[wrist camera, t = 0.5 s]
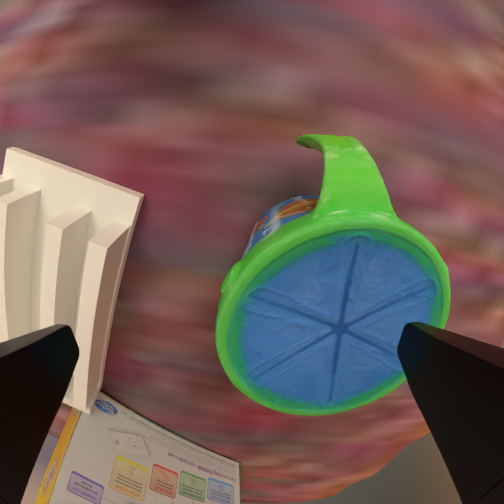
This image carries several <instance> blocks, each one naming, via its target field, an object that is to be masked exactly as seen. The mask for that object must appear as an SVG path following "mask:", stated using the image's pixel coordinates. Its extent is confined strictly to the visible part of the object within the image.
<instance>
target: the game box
mask: <svg viewBox="0 0 504 504" xmlns="http://www.w3.org/2000/svg"><path fill="white" fill-rule="evenodd" d="M35 504H241V464H240V463H239V462H237V461H234V460H231V459H228V458H226V457H223V456H221V455H219V454H216V453H214V452H212V451H210V450H207V449H205V448H203V447H201V446H199V445H197V444H194V443H192V442H190V441H188V440H186V439H184V438H182V437H180V436H178V435H176V434H174V433H172V432H170V431H168V430H166V429H165V428H162V427H161V426H159V425H157V424H155V423H153V422H151V421H149V420H148V419H146V418H144V417H142V416H140V415H139V414H137V413H135V412H134V411H132V410H130V409H128V408H127V407H125V406H123V405H122V404H120V403H118V402H117V401H115V400H113V399H112V398H110V397H109V396H107V395H106V394H104V393H103V392H101V391H100V392H99V394H98V396H97V399H96V401H95V403H94V406H93V408H92V410H91V413H90V415H89V414H87V413H85V412H82V411H80V410H78V409H76V408H74V407H73V408H72V411H71V413H70V415H69V417H68V420H67V422H66V424H65V426H64V429H63V431H62V433H61V435H60V438H59V440H58V443H57V445H56V448H55V450H54V453H53V455H52V457H51V460H50V463H49V465H48V468H47V470H46V473H45V476H44V478H43V481H42V484H41V487H40V490H39V493H38V496H37V499H36V502H35Z"/></svg>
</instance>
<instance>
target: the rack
mask: <svg viewBox="0 0 504 504" xmlns="http://www.w3.org/2000/svg"><path fill="white" fill-rule="evenodd" d="M144 195H145V194H142V193H139V192H137V191H134V190H131V189H129V188H126V187H123V186H121V185H118V184H115V183H113V182H110V181H107V180H105V179H102V178H99V177H97V176H94V175H91V174H88V173H86V172H83V171H80V170H78V169H75V168H72V167H69V166H67V165H64V164H61V163H58V162H56V161H53V160H50V159H47V158H45V157H42V156H39V155H36V154H33V153H31V152H28V151H25V150H22V149H19V148H17V147H11V148H7V151H6V156H5V162H4V168H3V174H2V175H0V343H1V342H4V341H7V340H10V339H13V338H16V337H19V336H22V335H25V334H28V333H31V332H34V331H37V330H40V329H43V328H46V327H49V326H52V325H55V324H64V325H69V326H70V327H71V328H72V331H73V334H74V336H75V339H76V342H77V344H78V347H79V359H78V362H77V364H76V367H75V370H74V372H73V375H72V378H71V381H70V383H69V386H68V389H67V392H66V394H65V397H64V399H63V401H62V402H63V403H65V404H67V405H69V406H71V407H74V408H76V409H78V410H80V411H82V412H85V413H87V414H89V415H90V413H91V410H92V408H93V406H94V403H95V401H96V399H97V396H98V394H99V392H100V390H101V387H102V383H103V376H104V369H105V362H106V356H107V349H108V343H109V338H110V332H111V327H112V321H113V316H114V311H115V306H116V302H117V297H118V292H119V288H120V284H121V279H122V275H123V271H124V267H125V263H126V259H127V255H128V251H129V247H130V243H131V240H132V236H133V232H134V229H135V225H136V222H137V218H138V215H139V212H140V208H141V205H142V202H143V198H144Z"/></svg>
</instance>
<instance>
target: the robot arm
mask: <svg viewBox="0 0 504 504" xmlns="http://www.w3.org/2000/svg"><path fill="white" fill-rule="evenodd" d="M397 355H398V358H399V360H400V363H401V366H402V368H403V371H404V373H405V376H406V379H407V381H408V384H409V387H410V389H411V392H412V394H413V396H414V399H415V401H416V403H417V405H418V407H419V409H420V411H421V413H422V415H423V417H424V419H425V421H426V423H427V425H428V427H429V429H430V431H431V433H432V435H433V437H434V439H435V442H436V444H437V446H438V448H439V450H440V453H441V455H442V457H443V459H444V462H445V464H446V466H447V468H448V471H449V473H450V475H451V478H452V480H453V482H454V485H455V487H456V490H457V492H458V494H459V497H460V499H461V502H462V504H504V349H503V348H500V347H497V346H494V345H491V344H488V343H484V342H481V341H478V340H475V339H472V338H469V337H465V336H462V335H459V334H456V333H453V332H450V331H447V330H444V329H440V328H437V327H434V326H431V325H428V324H425V323H422V322H409V323H407V324H405V326H404V328H403V331H402V334H401V337H400V340H399V343H398V347H397ZM78 359H79V347H78V344H77V342H76V339H75V336H74V334H73V331H72V328H71V327H70V326H69V325H64V324H55V325H52V326H49V327H46V328H43V329H40V330H37V331H34V332H31V333H28V334H25V335H22V336H19V337H16V338H13V339H10V340H7V341H4V342H1V343H0V504H21V501H22V498H23V495H24V492H25V489H26V486H27V484H28V481H29V478H30V476H31V473H32V471H33V468H34V465H35V463H36V460H37V457H38V455H39V453H40V451H41V448H42V446H43V443H44V441H45V439H46V436H47V434H48V432H49V430H50V427H51V425H52V423H53V421H54V418H55V416H56V414H57V412H58V410H59V408H60V405H61V403H62V401H63V399H64V397H65V394H66V392H67V389H68V386H69V383H70V381H71V378H72V375H73V372H74V370H75V367H76V364H77V362H78Z"/></svg>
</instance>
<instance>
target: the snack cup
mask: <svg viewBox="0 0 504 504" xmlns="http://www.w3.org/2000/svg"><path fill="white" fill-rule="evenodd" d="M296 142H297V143H298V144H300V145H302V146H304V147H307V148H314V149H316V150H318V151H320V152H322V153H323V167H324V171H323V180H322V186H321V192H320V197H319V196H313V195H305V196H297V197H293V198H291V199H288V200H285V201H283V202H280V203H278V204H276V205H275V206H273V207H272V208H271V209H270V210H268V211H267V212H266V213H265V214H264V215H263V216H262V217H261V218H260V219H259V220H258V222H257V223H256V225H255V227H254V228H253V230H252V232H251V235H250V237H249V239H248V242H247V246H246V248H245V251H244V253H243V256H242V259H241V260H240V261H238V262H237V263H236V264H234V266H233V267H232V268H231V269H230V271H229V272H228V274H227V276H226V278H225V280H224V282H223V283H222V286H221V289H220V292H221V294H222V295H221V298H220V301H219V305H218V311H217V318H216V336H215V341H216V349H217V353H218V357H219V359H220V362H221V365H222V367H223V369H224V371H225V372H226V374H227V376H228V377H229V379H230V380H231V382H232V383H233V385H234V386H235V387H236V388H238V389H239V390H240V391H241V392H242V393H243V394H245V395H246V396H247V397H249V398H250V399H252V400H253V401H255V402H257V403H258V404H260V405H263V406H265V407H267V408H270V409H273V410H276V411H279V412H282V413H288V414H294V415H301V416H304V415H306V416H315V415H328V414H335V413H339V412H344V411H348V410H351V409H355V408H358V407H361V406H363V405H366V404H369V403H371V402H373V401H375V400H377V399H379V398H381V397H383V396H385V395H386V394H388V393H390V392H391V391H393V390H394V389H396V388H397V387H398V386H400V385H401V384H402V383H403V382H405V381H406V380H407V379H406V376H405V373H404V371H403V368H402V366H401V363H400V360H399V358H398V355H397V347H398V343H399V340H400V337H401V334H402V331H403V328H404V326H405V324H407V323H409V322H422V323H425V324H428V325H431V326H434V327H437V328H440V329H444V327H445V325H446V321H447V318H448V314H449V308H450V297H451V293H450V283H449V274H448V268H447V266H446V264H445V262H444V261H443V260H442V258H441V256H440V254H439V253H438V251H437V250H436V249H435V247H434V246H433V245H432V244H431V243H430V242H429V241H428V240H427V239H426V238H425V237H424V236H423V235H422V234H421V233H419V232H418V231H417V230H416V229H415V228H413V227H412V226H410V225H409V224H407V223H405V222H403V221H402V220H400V219H399V218H398V217H397V216H396V214H395V213H394V211H393V208H392V205H391V202H390V198H389V195H388V192H387V189H386V187H385V184H384V182H383V179H382V177H381V175H380V173H379V170H378V168H377V166H376V164H375V162H374V160H373V159H372V157H371V156H370V154H369V153H368V151H367V150H366V149H365V147H364V146H363V145H362V144H361V143H360V142H359V141H357V140H356V139H355V138H353V137H351V136H334V135H320V134H307V135H302V136H300V137H298V138H297V141H296Z"/></svg>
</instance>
